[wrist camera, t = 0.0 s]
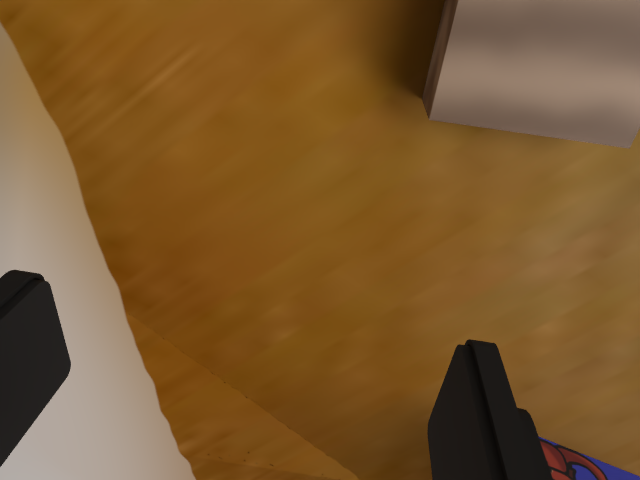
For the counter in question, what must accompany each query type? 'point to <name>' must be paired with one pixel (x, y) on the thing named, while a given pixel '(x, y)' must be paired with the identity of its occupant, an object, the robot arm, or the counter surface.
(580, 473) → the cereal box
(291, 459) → the counter surface
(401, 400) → the counter surface
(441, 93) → the walnut block
